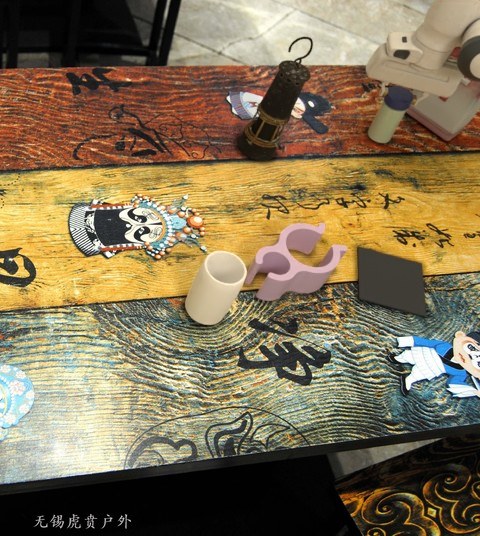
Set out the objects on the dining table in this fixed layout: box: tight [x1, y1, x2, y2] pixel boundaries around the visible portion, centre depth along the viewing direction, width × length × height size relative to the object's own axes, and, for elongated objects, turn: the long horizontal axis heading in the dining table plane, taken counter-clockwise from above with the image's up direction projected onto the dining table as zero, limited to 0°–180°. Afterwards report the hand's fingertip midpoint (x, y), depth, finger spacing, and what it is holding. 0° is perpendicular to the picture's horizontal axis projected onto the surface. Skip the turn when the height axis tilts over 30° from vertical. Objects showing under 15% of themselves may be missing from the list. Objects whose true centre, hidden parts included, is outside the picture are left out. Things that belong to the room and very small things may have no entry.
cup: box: [184, 250, 248, 326], centre depth 136 cm, size 8×8×14 cm
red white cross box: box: [405, 47, 480, 142], centre depth 175 cm, size 14×10×30 cm
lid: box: [383, 85, 414, 111], centre depth 171 cm, size 6×6×2 cm
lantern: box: [237, 36, 314, 162], centre depth 160 cm, size 9×9×30 cm
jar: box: [366, 99, 407, 144], centre depth 176 cm, size 6×6×12 cm
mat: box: [357, 246, 427, 318], centre depth 153 cm, size 14×14×1 cm
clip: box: [243, 222, 348, 302], centre depth 148 cm, size 20×12×7 cm, turn 122°
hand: (396, 99), depth 172 cm, fingers closed on lid, 6 cm apart
